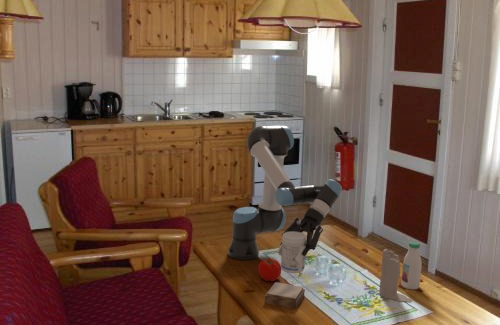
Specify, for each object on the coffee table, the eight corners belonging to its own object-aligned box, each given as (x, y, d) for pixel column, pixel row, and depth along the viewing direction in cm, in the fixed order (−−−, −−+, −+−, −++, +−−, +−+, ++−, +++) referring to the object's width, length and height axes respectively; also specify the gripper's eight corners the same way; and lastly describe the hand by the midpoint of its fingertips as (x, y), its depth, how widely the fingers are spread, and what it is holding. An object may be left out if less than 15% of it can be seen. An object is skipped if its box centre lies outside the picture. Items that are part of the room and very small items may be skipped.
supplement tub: (292, 263, 224) (294, 229, 221) (309, 270, 217) (311, 235, 214) (275, 268, 218) (277, 233, 215) (292, 276, 211) (294, 240, 208)
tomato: (261, 285, 232) (262, 266, 231) (254, 275, 243) (255, 256, 241) (284, 283, 235) (285, 264, 234) (276, 273, 246) (277, 255, 244)
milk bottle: (419, 284, 240) (424, 241, 236) (418, 291, 232) (423, 247, 229) (401, 281, 242) (405, 239, 238) (400, 288, 235) (404, 244, 231)
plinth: (264, 302, 215) (265, 293, 215) (274, 290, 227) (274, 281, 227) (296, 309, 211) (296, 299, 210) (304, 295, 223) (304, 286, 222)
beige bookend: (409, 304, 219) (414, 257, 215) (376, 295, 226) (380, 250, 223) (414, 298, 225) (419, 252, 222) (382, 289, 232) (386, 245, 229)
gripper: (341, 224, 216) (312, 271, 209) (301, 211, 232) (273, 254, 225) (333, 214, 211) (303, 261, 204) (293, 201, 227) (264, 244, 220)
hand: (287, 257), depth 214 cm, fingers closed on supplement tub, 9 cm apart
